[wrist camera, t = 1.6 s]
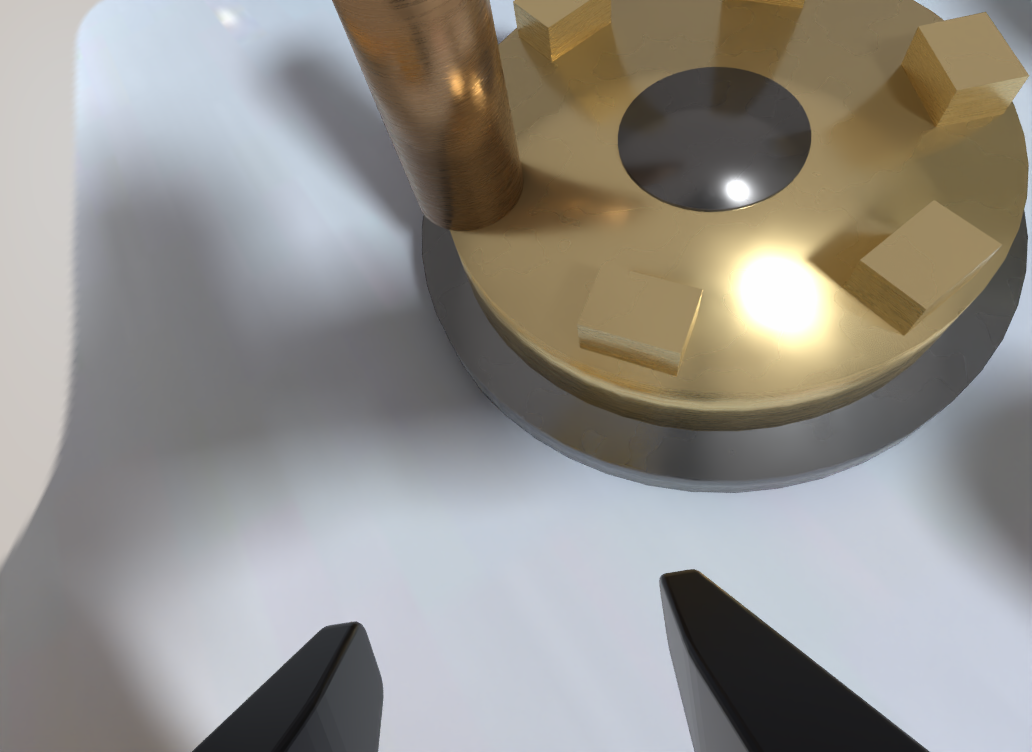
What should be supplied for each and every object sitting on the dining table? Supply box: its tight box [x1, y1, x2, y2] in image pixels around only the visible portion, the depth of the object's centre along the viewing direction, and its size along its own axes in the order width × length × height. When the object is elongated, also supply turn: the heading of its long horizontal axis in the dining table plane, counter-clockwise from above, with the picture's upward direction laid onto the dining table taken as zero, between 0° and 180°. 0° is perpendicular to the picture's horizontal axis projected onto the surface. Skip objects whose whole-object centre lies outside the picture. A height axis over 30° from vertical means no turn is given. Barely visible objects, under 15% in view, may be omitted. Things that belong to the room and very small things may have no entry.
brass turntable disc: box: [332, 0, 1029, 431], centre depth 18 cm, size 19×18×14 cm
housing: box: [422, 211, 1028, 493], centre depth 25 cm, size 21×24×2 cm
